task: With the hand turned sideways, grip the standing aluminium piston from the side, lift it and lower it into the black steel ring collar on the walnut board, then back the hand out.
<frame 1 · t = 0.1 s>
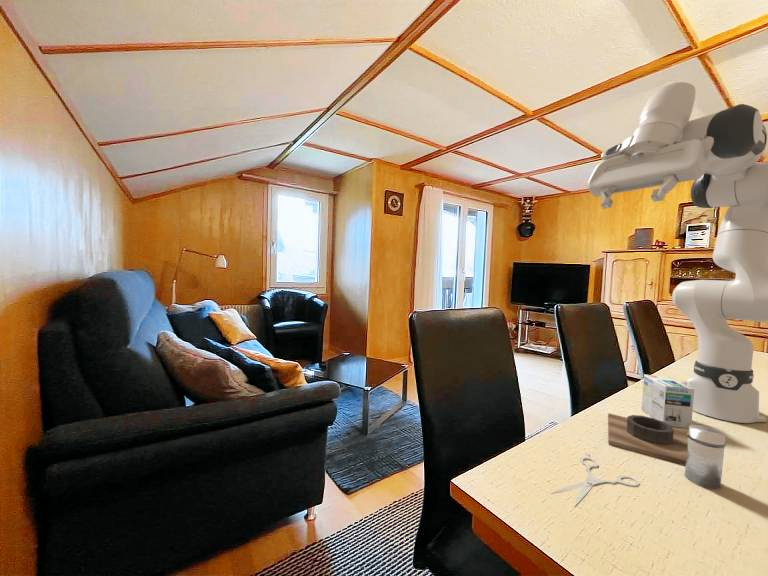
hand: (629, 203, 67), 54 cm above the table, tool tilted 30°, fingers open, 8 cm apart
scissors: (589, 485, 62), on the table
piston: (702, 480, 63), on the table
light bulb box: (664, 419, 91), on the table
ring collar board: (648, 439, 79), on the table
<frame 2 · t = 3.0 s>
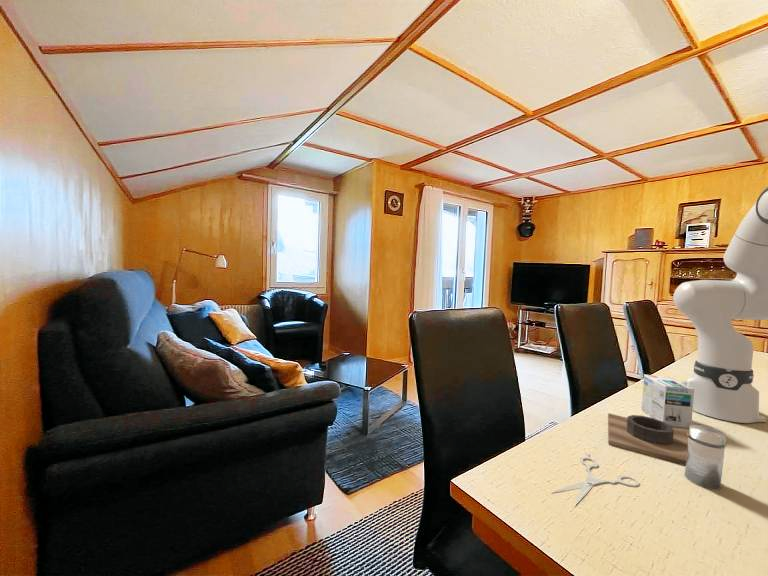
nothing on the table moved.
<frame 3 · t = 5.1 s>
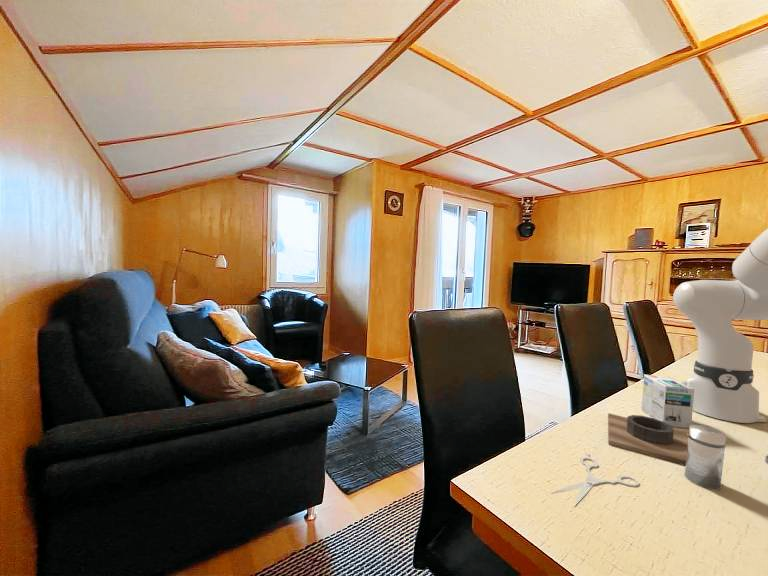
nothing on the table moved.
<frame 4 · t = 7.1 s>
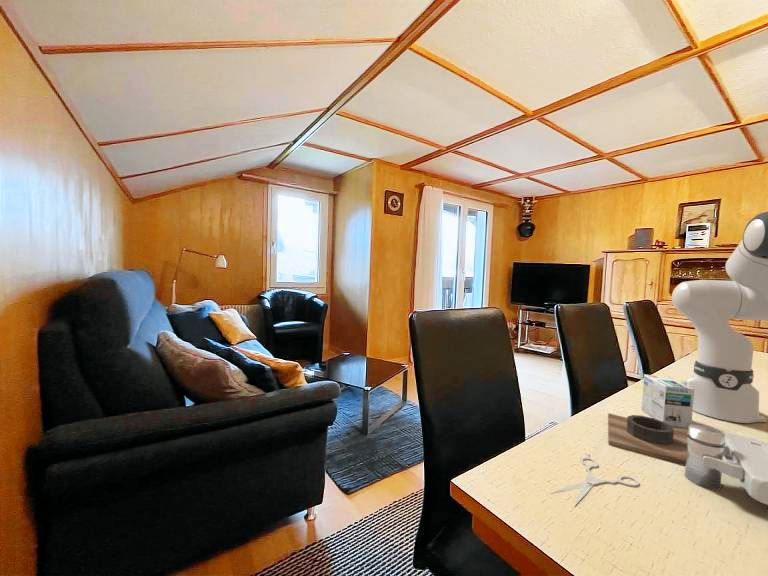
hand: (698, 451, 64), 6 cm above the table, tool horizontal, fingers closed on piston, 5 cm apart
piston: (702, 480, 63), on the table, touching gripper
everything else where it was.
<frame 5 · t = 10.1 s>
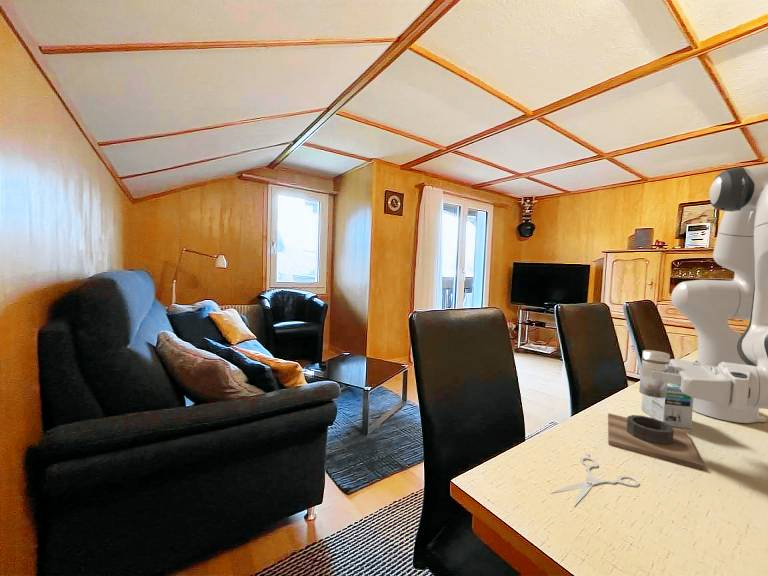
hand: (649, 370, 78), 17 cm above the table, tool horizontal, fingers closed on piston, 5 cm apart
piston: (652, 393, 78), point 11 cm above the table, touching gripper
everything else where it was.
when the fingers open (8 cm above the table, at t = 12.7 s): piston drops 1 cm, resting on ring collar board.
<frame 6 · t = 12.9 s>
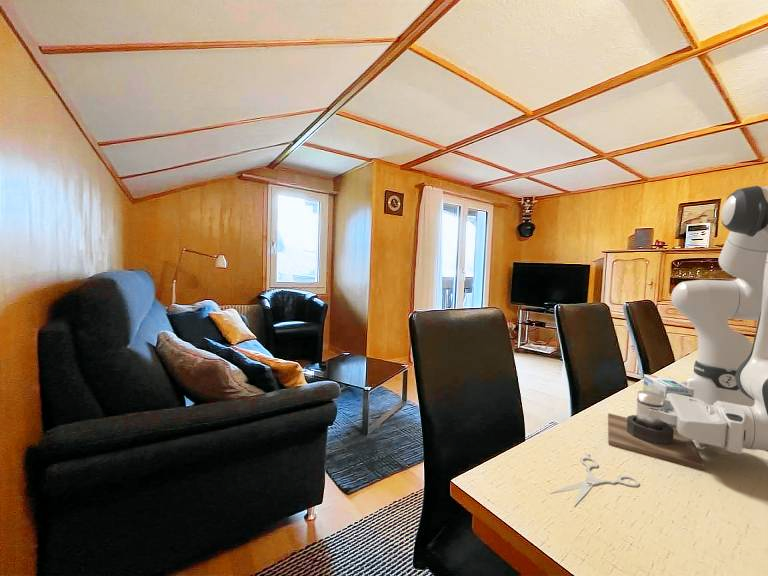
hand: (646, 406, 79), 8 cm above the table, tool horizontal, fingers open, 7 cm apart
piston: (648, 434, 79), point 1 cm above the table, touching ring collar board
everything else where it was.
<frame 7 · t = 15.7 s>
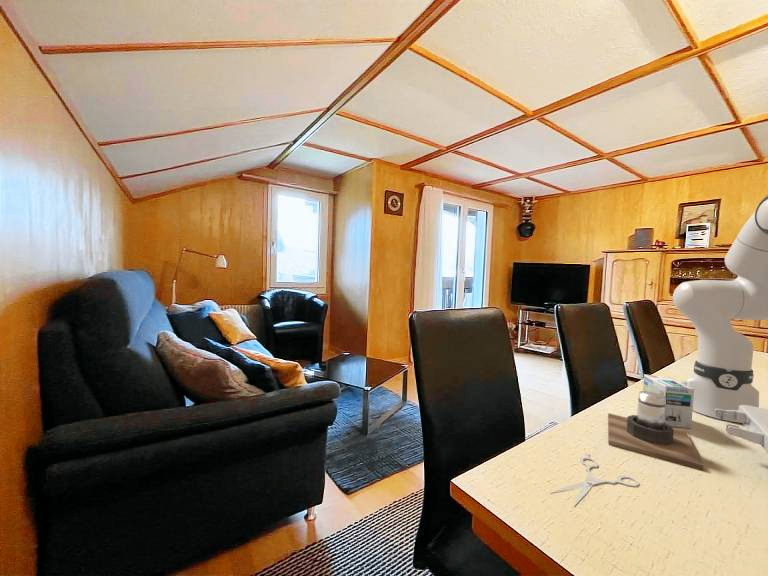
hand: (720, 420, 72), 8 cm above the table, tool horizontal, fingers open, 8 cm apart
nothing on the table moved.
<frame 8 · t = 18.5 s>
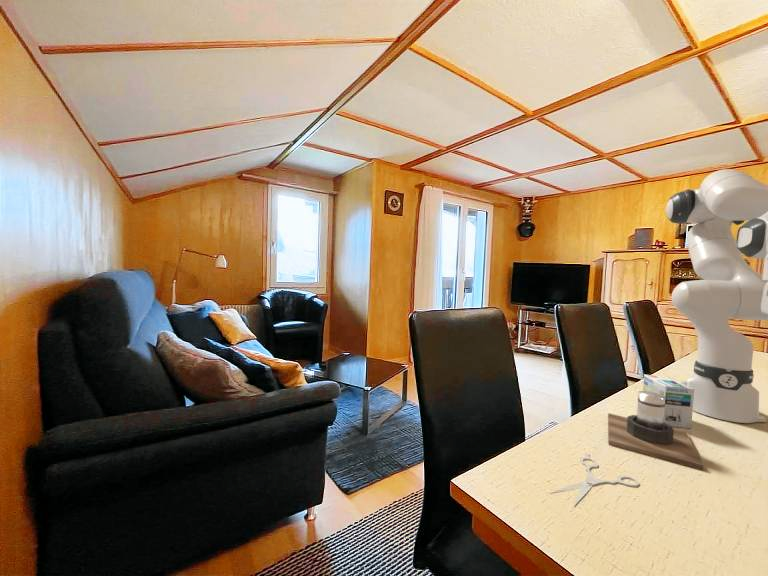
nothing on the table moved.
at the end: piston 0.0 cm off-centre on the ring collar board, point 1.0 cm above the ring collar board's base; piston tilted 0°; the gripper is holding nothing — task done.
